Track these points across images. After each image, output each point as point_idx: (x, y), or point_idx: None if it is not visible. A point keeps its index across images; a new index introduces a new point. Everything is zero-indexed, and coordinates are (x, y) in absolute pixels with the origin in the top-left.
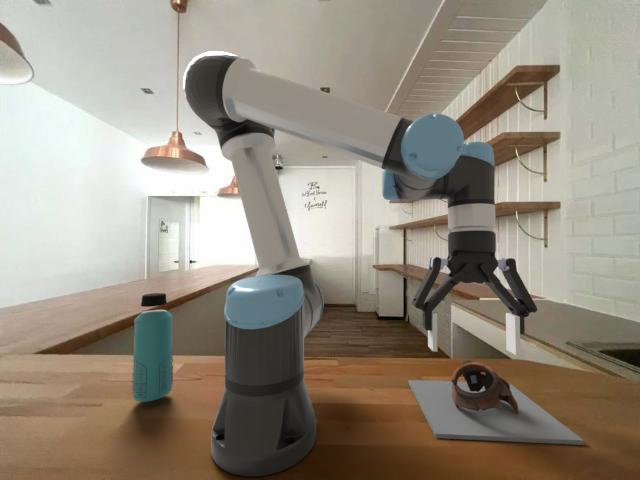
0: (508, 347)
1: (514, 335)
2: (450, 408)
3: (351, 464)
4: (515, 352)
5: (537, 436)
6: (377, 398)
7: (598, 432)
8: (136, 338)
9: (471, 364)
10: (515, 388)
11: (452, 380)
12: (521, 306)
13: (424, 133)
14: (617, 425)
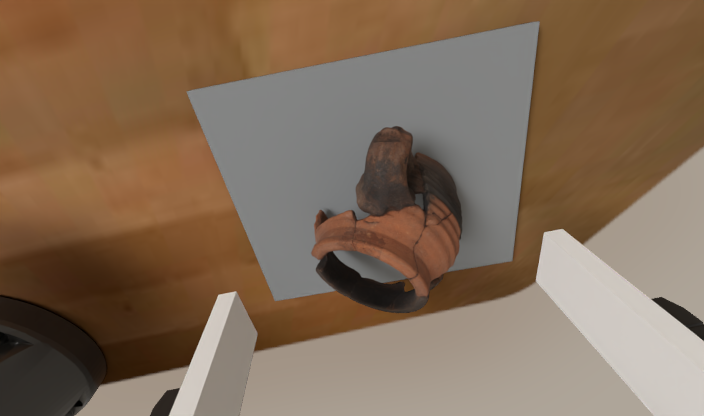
0: (551, 253)
1: (591, 340)
2: (309, 225)
3: (171, 359)
4: (541, 287)
5: None
6: (133, 205)
7: (569, 215)
8: None
9: (378, 258)
10: (530, 67)
11: (314, 256)
12: None
13: None
14: (633, 183)
